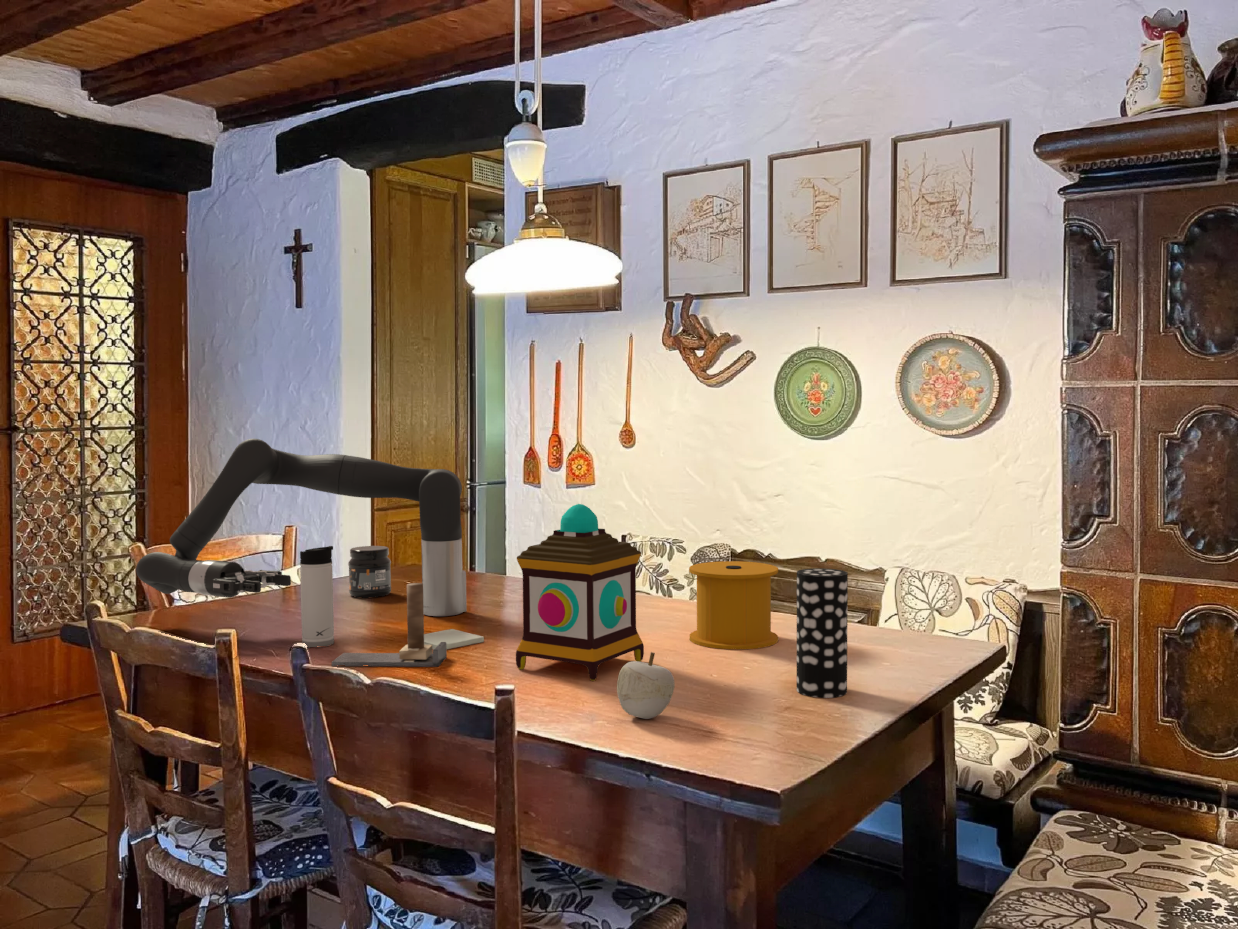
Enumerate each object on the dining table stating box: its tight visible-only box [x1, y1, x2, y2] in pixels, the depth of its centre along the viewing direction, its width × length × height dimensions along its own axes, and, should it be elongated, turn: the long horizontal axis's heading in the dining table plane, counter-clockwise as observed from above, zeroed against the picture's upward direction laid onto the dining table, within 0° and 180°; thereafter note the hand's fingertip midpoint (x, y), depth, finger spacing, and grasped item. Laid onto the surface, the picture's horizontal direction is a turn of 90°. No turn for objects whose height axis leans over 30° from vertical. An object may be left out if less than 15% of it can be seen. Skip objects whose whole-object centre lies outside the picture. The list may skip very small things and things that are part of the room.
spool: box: [688, 560, 779, 650], centre depth 214 cm, size 18×18×15 cm
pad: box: [424, 628, 485, 650], centre depth 214 cm, size 11×11×1 cm
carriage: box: [398, 582, 433, 659], centre depth 197 cm, size 5×5×14 cm
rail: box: [331, 642, 448, 668], centre depth 198 cm, size 20×7×3 cm, turn 87°
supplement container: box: [347, 545, 392, 599], centre depth 267 cm, size 10×10×12 cm
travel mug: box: [299, 545, 335, 648], centre depth 212 cm, size 6×7×20 cm
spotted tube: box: [796, 567, 849, 699], centre depth 175 cm, size 8×8×20 cm
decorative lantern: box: [515, 503, 645, 682], centre depth 193 cm, size 20×20×30 cm
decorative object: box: [616, 651, 675, 720], centre depth 161 cm, size 9×9×10 cm
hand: (275, 583), depth 217 cm, fingers open, 8 cm apart
